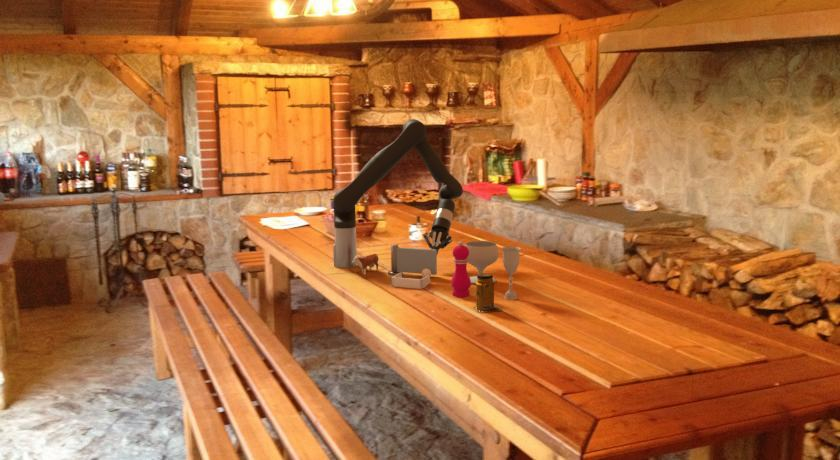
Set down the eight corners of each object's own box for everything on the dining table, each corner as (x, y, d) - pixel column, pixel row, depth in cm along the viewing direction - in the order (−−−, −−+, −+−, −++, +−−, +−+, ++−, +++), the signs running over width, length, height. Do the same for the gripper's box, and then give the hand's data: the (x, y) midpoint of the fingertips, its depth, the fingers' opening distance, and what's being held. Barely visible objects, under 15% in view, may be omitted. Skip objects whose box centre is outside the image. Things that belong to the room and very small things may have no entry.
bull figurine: (351, 275, 293) (350, 255, 292) (374, 269, 303) (374, 250, 301) (358, 276, 290) (357, 257, 289) (382, 270, 300) (381, 251, 298)
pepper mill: (469, 298, 256) (469, 243, 252) (449, 297, 257) (449, 242, 254) (472, 292, 263) (472, 239, 259) (452, 292, 264) (452, 239, 261)
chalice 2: (499, 295, 259) (499, 246, 256) (517, 294, 259) (518, 246, 256) (503, 300, 251) (503, 250, 248) (522, 300, 252) (522, 250, 249)
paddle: (390, 271, 293) (389, 245, 291) (393, 270, 296) (392, 244, 294) (434, 275, 286) (434, 248, 284) (437, 273, 289) (437, 246, 287)
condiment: (472, 306, 245) (472, 272, 243) (496, 305, 246) (496, 271, 244) (478, 312, 238) (478, 277, 236) (502, 311, 239) (502, 276, 237)
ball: (419, 279, 284) (419, 269, 284) (423, 276, 288) (423, 267, 287) (429, 279, 283) (429, 270, 282) (432, 277, 287) (432, 267, 286)
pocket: (391, 286, 274) (391, 277, 273) (400, 280, 282) (400, 272, 281) (422, 288, 269) (421, 279, 269) (430, 283, 277) (430, 274, 277)
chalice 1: (502, 278, 284) (502, 241, 281) (494, 286, 271) (494, 248, 268) (468, 275, 289) (468, 239, 286) (458, 284, 276) (458, 246, 273)
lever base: (385, 274, 292) (385, 273, 292) (391, 271, 298) (391, 269, 298) (399, 276, 290) (399, 274, 290) (404, 272, 296) (404, 270, 296)
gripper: (425, 215, 303) (415, 249, 294) (455, 217, 298) (446, 251, 289) (430, 226, 309) (420, 259, 300) (459, 227, 304) (450, 261, 295)
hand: (433, 255), depth 295 cm, fingers closed
